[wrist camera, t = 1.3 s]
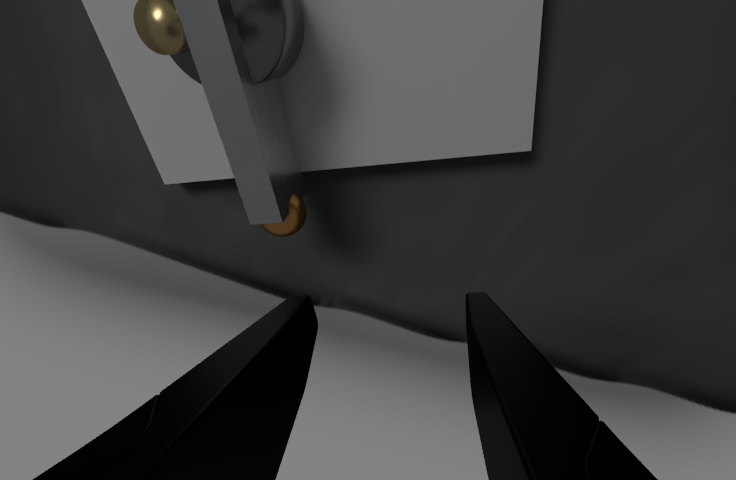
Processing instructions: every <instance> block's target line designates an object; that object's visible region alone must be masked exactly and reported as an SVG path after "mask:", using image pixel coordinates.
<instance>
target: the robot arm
mask: <svg viewBox="0 0 736 480" xmlns="http://www.w3.org/2000/svg"><path fill="white" fill-rule="evenodd" d="M317 330H318V321H317V317H316V313H315V310H314V306H313V303H312V300H311V298H310V296H309V295H292V296H290V297H289V298H288V299H286V300H285V301H283V302H282V303H281V304H279V305H278V306H277V307H275V308H274V309H273V310H271V311H270V312H269V313H267V314H266V315H264V316H263V317H262V318H261V319H259V320H258V321H256V322H255V323H254V324H252V325H251V326H250V327H248V328H247V329H246V330H244V331H243V332H241V333H240V334H239V335H237V336H236V337H235V338H233V339H232V340H231V341H229V342H228V343H226V344H225V345H224V346H222V347H221V348H220V349H218V350H217V351H216V352H214V353H213V354H212V355H210V356H209V357H207V358H206V359H205V360H203V361H202V362H201V363H199V364H198V365H196V366H195V367H194V368H192V369H191V370H190V371H188V372H187V373H186V374H185V375H183V376H182V377H180V378H179V379H177V380H176V381H175V382H173V383H172V384H171V385H169V386H168V387H167V388H165V389H164V390H162V391H161V392H160V395H156V396H154V397H153V398H152V399H150V400H149V401H147V402H146V403H145V404H143V405H142V406H141V407H139V408H138V409H137V410H135V411H134V412H132V413H131V414H129V415H128V416H127V417H125V418H124V419H122V420H121V421H120V422H118V423H117V424H115V425H114V426H113V427H111V428H110V429H109V430H107V431H105V432H104V433H102V434H101V435H100V436H98V437H96V438H95V439H94V440H92V441H91V442H89V443H88V444H86V445H85V446H83V447H82V448H80V449H79V450H77V451H76V452H74V453H73V454H71V455H69V456H68V457H67V458H65V459H63V460H62V461H61V462H59V463H57V464H56V465H54V466H53V467H51V468H50V469H48V470H47V471H45V472H44V473H42V474H40V475H39V476H37V477H36V478H34V479H33V480H275V479H276V476H277V473H278V470H279V467H280V464H281V461H282V458H283V455H284V452H285V449H286V445H287V443H288V440H289V437H290V434H291V430H292V428H293V425H294V421H295V418H296V415H297V412H298V409H299V406H300V403H301V400H302V397H303V394H304V390H305V387H306V382H307V378H308V373H309V369H310V364H311V359H312V354H313V350H314V345H315V340H316V335H317ZM466 332H467V344H468V357H469V370H470V382H471V391H472V399H473V405H474V410H475V415H476V420H477V425H478V429H479V435H480V440H481V444H482V449H483V454H484V459H485V464H486V469H487V474H488V478H489V480H657V479H656V478H655V477H654V476H653V475H652V473H650V471H649V470H648V469H647V468H646V467H645V466H644V465H643V464H642V463H641V462H640V461H639V460H638V459H637V458H636V457H635V456H634V455H633V454H632V453H631V451H630V450H629V449H628V448H627V447H626V446H625V445H624V444H623V443H622V442H621V441H620V440H619V439H618V438H617V436H616V435H615V434H614V433H613V432H612V431H611V430H610V429H609V428H608V426H607V425H606V424H605V423H604V422H602V421H599V417H598V416H597V415H596V414H595V412H594V411H593V410H592V409H591V408H590V407H589V406H588V405H587V404H586V403H585V401H584V400H583V399H582V398H581V397H580V396H579V395H578V394H577V393H576V392H575V390H573V388H572V387H571V386H570V385H569V384H568V383H567V382H566V381H565V379H564V378H563V377H562V376H561V375H560V374H559V373H558V372H557V371H556V370H555V368H554V367H553V366H552V365H551V364H550V363H549V362H548V361H547V360H546V359H545V357H544V356H543V355H542V354H541V353H540V352H539V351H538V350H537V349H536V348H535V346H534V345H533V344H532V343H531V342H530V341H529V340H528V339H527V338H526V337H525V335H524V334H523V333H522V332H521V331H520V330H519V329H518V328H517V327H516V326H515V324H514V323H513V322H512V321H511V320H510V319H509V318H508V317H507V316H506V315H505V313H504V312H503V311H502V310H501V309H500V308H499V307H498V306H497V305H496V304H495V302H494V301H493V300H492V299H491V298H490V297H489V296H488V295H487V294H486V293H467V294H466Z"/></svg>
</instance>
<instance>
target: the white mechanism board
mask: <svg viewBox="0 0 736 480" xmlns="http://www.w3.org/2000/svg"><path fill="white" fill-rule="evenodd" d="M82 2H83V4H84V6H85V9H86V11H87V13H88V15H89V18H90V20H91V22H92V24H93V26H94V29H95V31H96V33H97V35H98V37H99V40H100V42H101V44H102V46H103V49H104V51H105V53H106V55H107V57H108V60H109V62H110V64H111V66H112V69H113V71H114V73H115V75H116V77H117V80H118V82H119V84H120V86H121V88H122V91H123V93H124V95H125V97H126V100H127V102H128V104H129V106H130V108H131V111H132V113H133V115H134V117H135V120H136V122H137V124H138V126H139V128H140V131H141V133H142V135H143V137H144V139H145V142H146V144H147V146H148V148H149V151H150V153H151V155H152V157H153V159H154V162H155V164H156V166H157V168H158V171H159V173H160V175H161V177H162V179H163V182H164V184H175V183H186V182H197V181H208V180H219V179H230V178H234V175H233V173H232V170H231V167H230V164H229V161H228V158H227V155H226V152H225V149H224V147H223V144H222V141H221V138H220V135H219V132H218V129H217V126H216V123H215V121H214V118H213V115H212V112H211V109H210V106H209V103H208V100H207V97H206V95H205V92H204V89H203V86H202V85H201V84H200V83H198V82H196V81H195V80H193V79H192V78H191V77H189V76H188V75H187V74H186V73H185V72H183V70H182V69H181V68H180V67H179V66H178V65H177V64H176V63H175V62H174V60H173V59H172V58H171V57H170V55H161V54H157V53H155V52H153V51H152V50H150V49H149V48H148V47H147V46H146V45H145V44H144V43H143V42H142V40H141V39H140V37H139V35H138V33H137V31H136V28H135V25H134V19H133V13H134V8H135V5H136V3H137V2H138V0H82ZM300 2H301V6H302V10H303V16H304V39H303V44H302V48H301V51H300V54H299V56H298V58H297V60H296V62H295V63H294V65H293V66H292V68H291V69H290V70H289V71H288V72H287V73H286V74H285V75H283V76H282V77H280V78H279V82H280V86H281V90H282V94H283V98H284V102H285V106H286V110H287V114H288V118H289V122H290V126H291V130H292V134H293V139H294V143H295V147H296V151H297V155H298V159H299V163H300V167H301V171H302V172H306V171H316V170H327V169H338V168H349V167H360V166H371V165H382V164H392V163H403V162H414V161H425V160H436V159H447V158H458V157H468V156H479V155H490V154H501V153H512V152H523V151H531V147H532V135H533V123H534V110H535V98H536V85H537V73H538V61H539V48H540V36H541V23H542V11H543V0H300Z"/></svg>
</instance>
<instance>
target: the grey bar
mask: <svg viewBox="0 0 736 480" xmlns="http://www.w3.org/2000/svg"><path fill="white" fill-rule="evenodd" d="M133 19H134V25H135V28H136V31H137V33H138V35H139V37H140V39H141V40H142V42H143V43H144V44H145V45H146V46H147V47H148V48H149V49H150V50H152V51H153V52H155V53H157V54H161V55H170V57H171V58H172V59H173V60H174V62H175V63H176V64H177V65H178V66H179V67H180V68H181V69H182V70H183V72H185V73H186V74H187V75H188V76H189V77H191V78H192V79H193V80H195V81H196V82H198V83H200V84H201V85H202V86H203V89H204V92H205V95H206V97H207V100H208V103H209V106H210V109H211V112H212V115H213V118H214V121H215V123H216V126H217V129H218V132H219V135H220V138H221V141H222V144H223V147H224V149H225V152H226V155H227V158H228V161H229V164H230V167H231V170H232V173H233V175H234V178H235V181H236V184H237V187H238V190H239V193H240V196H241V199H242V201H243V204H244V207H245V210H246V213H247V216H248V219H249V222H250V224H261V226H262V227H263V228H264V229H265V230H266V231H267V232H268V233H270V234H272V235H275V236H280V237H285V236H290V235H292V234H295V233H296V232H298V231H299V230H300V229H301V228H302V226H303V225H304V223H305V220H306V215H307V211H306V206H305V203H304V201H303V200H302V198H303V197H304V195H305V194H306V193H307V191H306V187H305V183H304V179H303V175H302V171H301V167H300V163H299V159H298V155H297V151H296V147H295V143H294V139H293V134H292V130H291V126H290V122H289V118H288V114H287V110H286V106H285V102H284V98H283V94H282V90H281V86H280V82H279V78H280V77H282V76H283V75H285V74H286V73H287V72H288V71H289V70H290V69H291V68H292V66H293V65H294V63H295V62H296V60H297V58H298V56H299V54H300V51H301V48H302V44H303V39H304V16H303V10H302V6H301V2H300V0H138V2H137V3H136V5H135V8H134V13H133Z"/></svg>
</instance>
